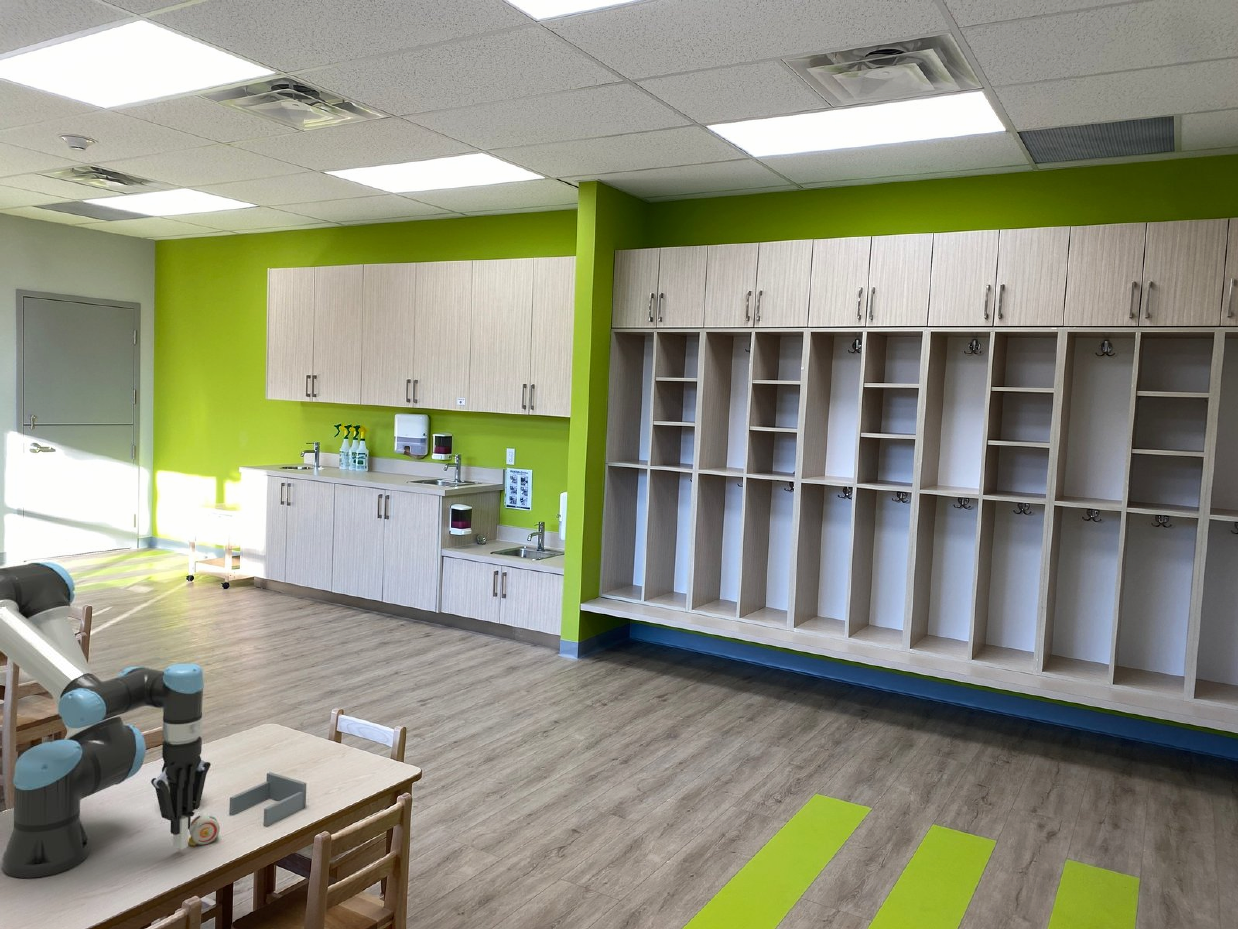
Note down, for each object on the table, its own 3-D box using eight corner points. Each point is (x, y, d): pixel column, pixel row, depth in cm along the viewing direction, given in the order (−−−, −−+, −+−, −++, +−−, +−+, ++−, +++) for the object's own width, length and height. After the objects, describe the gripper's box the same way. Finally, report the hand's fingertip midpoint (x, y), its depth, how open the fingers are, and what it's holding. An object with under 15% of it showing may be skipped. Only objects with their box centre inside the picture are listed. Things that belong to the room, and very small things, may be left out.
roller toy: (221, 843, 198) (222, 817, 197) (189, 849, 194) (190, 823, 194) (217, 834, 201) (217, 809, 201) (186, 841, 198) (186, 815, 197)
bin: (266, 826, 206) (267, 801, 206) (229, 814, 211) (230, 789, 211) (305, 807, 217) (306, 783, 217) (269, 795, 222) (269, 772, 222)
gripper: (166, 751, 183) (164, 864, 185) (220, 732, 195) (218, 838, 196) (142, 744, 187) (140, 854, 188) (196, 726, 198) (194, 830, 200)
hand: (180, 846), depth 192 cm, fingers closed
